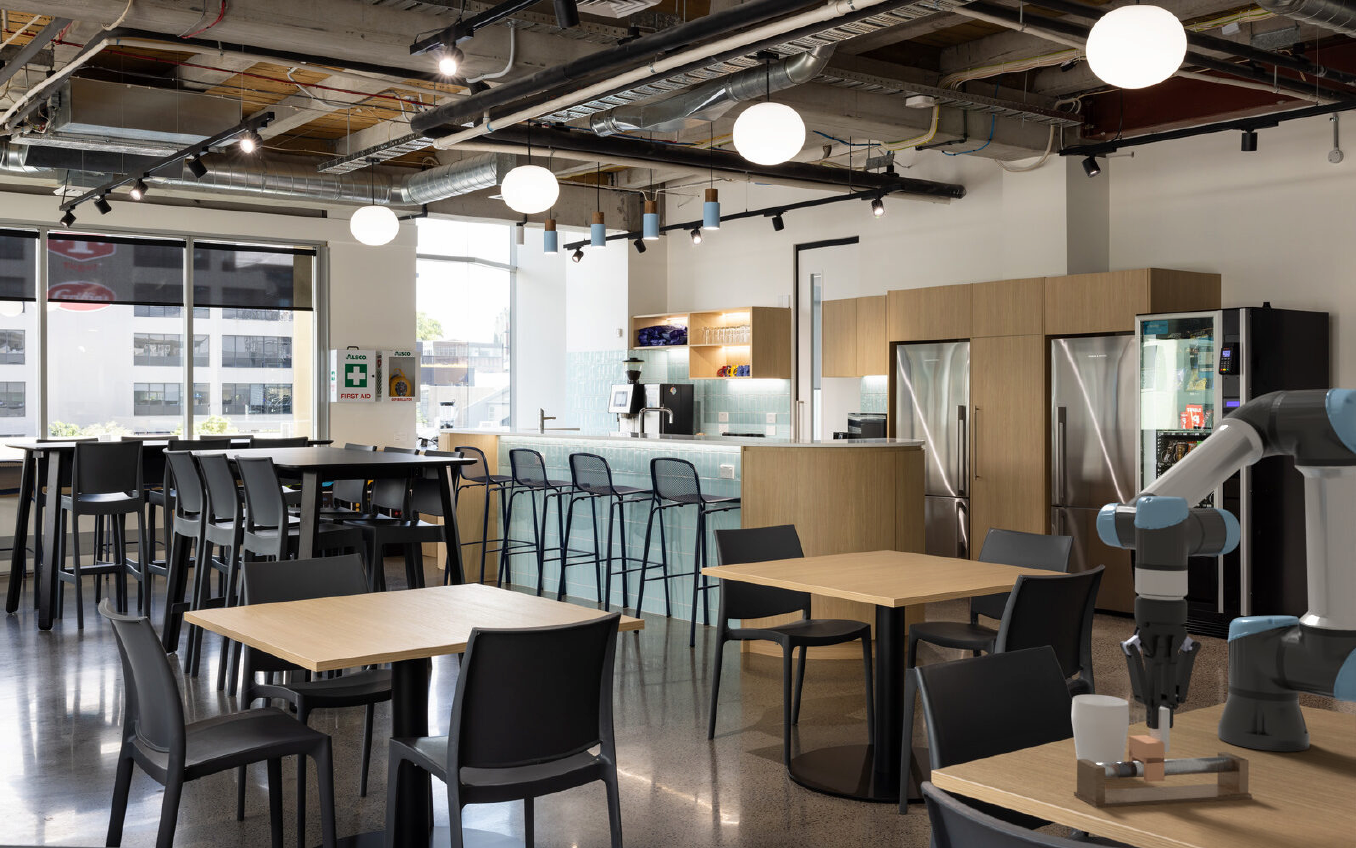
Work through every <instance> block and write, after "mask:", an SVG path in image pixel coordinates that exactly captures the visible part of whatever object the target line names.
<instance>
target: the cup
mask: <svg viewBox="0 0 1356 848" xmlns="http://www.w3.org/2000/svg"><path fill="white" fill-rule="evenodd" d="M1071 703H1072V704H1071V724H1072V732H1073V739H1074V746H1075V747H1074V748H1075V754H1076V755H1075V756H1076V760H1077V759H1088V760H1090V761H1092V762H1094V763H1107V762H1124V759H1125V758H1124V757H1125V752H1126V747H1127V739H1128V733H1129V727H1130V714H1129V713H1130V711H1129V701H1127V700H1126V699H1123V698H1121V697H1116V696H1111V695H1110V696H1109V695H1104V694H1078V695H1075V696H1073V697H1072V702H1071Z"/></svg>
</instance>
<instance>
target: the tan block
mask: <svg viewBox="0 0 1356 848" xmlns="http://www.w3.org/2000/svg"><path fill="white" fill-rule="evenodd" d="M1164 748H1165V743H1164V742H1162V741H1159V740H1157V739H1154V738H1152V737H1150V735H1146V734H1145V735H1144V734H1143V735H1142V734H1141V735H1140V734H1139V735H1128V761H1143V762H1144V777H1143V781H1144V782H1146V783H1153V782H1165V776H1164V760H1165V752H1164Z"/></svg>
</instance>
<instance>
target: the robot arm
mask: <svg viewBox="0 0 1356 848" xmlns="http://www.w3.org/2000/svg"><path fill="white" fill-rule="evenodd" d="M1281 455H1282V456H1293V457H1294V468H1295V469H1297V470H1298V472H1300V473H1302V475H1303V477H1304V501H1305V502H1304V503H1305V504H1304V506H1305V508H1304V509H1305V535H1306V536H1305V539H1306V570H1307V573H1306V574H1307V604H1308V605H1307V607H1308V608H1307V610H1308V611H1307V612H1306V613H1305V614H1303V615H1302V616H1301V617H1300V618H1299V617H1298V616H1292V615H1260V616H1259V615H1257V616H1255V615H1254V616H1243V617H1237V618H1234V619H1232V621H1231V622H1230V623H1229V630H1228V631H1229V632H1228V639H1227V643H1228V645H1227V646H1228V650H1227V651H1228V652H1227V653H1228V691H1227V692H1228V696H1227V699H1226V702H1225V704H1224V708H1223V710H1222V714H1221V717H1220V720H1219V721H1218V723H1217V737H1218V738H1219V739H1220V740H1222V741H1223V742H1226V743H1228V744H1232V745H1235V746H1239V747H1244V748H1249V749H1255V750H1262V751H1271V752H1299V751H1301V752H1302V751H1305V750H1308V749H1309V748H1310V732H1309V730H1308V729H1307V725H1306V721H1305V717H1304V714H1303V711H1302V708H1301V706H1300V701H1299V700H1300V699H1299V697H1300V695H1299V694H1300V693H1302V694H1303V693H1304V694H1309V695H1313V696H1318V697H1324V698H1329V699H1333V700H1336V701H1339V702H1351V703H1356V389H1355V388H1351V389H1350V388H1340V387H1335V388H1328V389H1305V390H1304V389H1303V390H1302V389H1301V390H1298V389H1296V390H1277V391H1273V392H1269V393H1266V394H1263V395H1259V396H1257V397H1255V398H1253V399H1251V400H1249V401H1247V402H1246V403H1244V404H1242V405H1240V406H1238V407H1237V408H1235V409H1233V410H1232V411H1230V412H1229V413H1228V414H1226V415H1225V416H1223V418H1221V419H1220V420H1219V421H1218V422H1216V423H1215V424H1214V426H1213V428H1212V430H1211V435H1209V436H1208V437H1207V438H1206V439H1204V440H1203V441H1202V442H1201V443H1200V444H1198V445H1197V446H1195V448H1193V449H1192V450H1191V451H1190V452H1188V453H1187V454H1186V455H1185V456H1184V457H1182V458H1181V459H1180V460H1178V461H1177V462H1176V463H1175V464H1173V465H1172V466H1171V467H1169V469H1167V470H1166V471H1164V472H1163V474H1161V475H1160V476H1159V477H1157V478H1156V479H1155V480H1154V481H1152V483H1150V484H1148V486H1147V487H1146V488H1144V489H1143V490H1141V492H1139V493H1138V494H1137V495H1136V496H1134V497H1133V498H1132V499H1130V500H1129V501H1128V502H1125V503H1123V502H1121V501H1120V502H1117V503H1116V502H1115V503H1114V502H1113V503H1108V504H1104V506H1103V507H1101V509H1100V511H1099V512H1098V515H1097V518H1096V530H1097V533H1098V536H1099V538H1100V541H1102V542H1103V543H1104V544H1106V545H1107V546H1109V547H1117V548H1121V549H1124V550H1129V549H1130V550H1135V563H1134V564H1135V565H1134V569H1135V570H1134V591H1135V593H1137V594H1138V595H1137V596H1135V598H1134V619H1135V621H1136V622H1135V623H1136V625H1135V628H1134V631H1133V636H1132V637H1131V638H1129V639H1128V640H1121V641H1120V643H1119V647H1120V649H1121V651H1122V652H1123V654H1124V656H1125V660H1126V661H1125V662H1126V664H1127V670H1128V674H1129V680H1130V685H1131V690H1132V694H1133V698H1134V701H1135V702H1138V703H1139V704H1142V705H1144V706H1145V709H1146V713H1145V717H1146V718H1145V723H1146V724H1145V725H1146V727H1147V728H1148V729H1149V737H1152V738H1154V739H1157V740H1159V741H1162V742H1164V743H1165V748H1164V753H1169V752H1170V729H1173V727H1174V710H1177V709H1178V708H1179V704H1181V705H1182V704H1185V703H1186V702H1187V697H1188V692H1189V688H1190V682H1191V679H1192V678H1191V677H1192V674H1193V670H1194V669H1193V668H1194V664H1195V659H1196V658H1197V657H1196V656H1197V654H1198V653H1199V652H1200V649H1201V647H1202V644H1201V642H1200V641H1197V640H1193V639H1192V638H1190V636H1188V631H1187V628H1186V626H1185V624H1186V623H1187V621H1188V601H1187V600H1186V598H1184V597H1186V596H1187V595H1188V594H1189V592H1188V591H1189V589H1188V586H1189V585H1188V583H1189V582H1188V579H1189V578H1188V576H1189V575H1188V571H1189V570H1188V558H1189V557H1201V556H1202V557H1206V556H1211V557H1217V556H1220V555H1226V554H1228V553H1231V552H1232V551H1233V550H1234V549H1236V548H1237V546H1238V545H1239V542H1240V541H1241V540H1240V539H1241V534H1242V533H1241V526H1240V523H1239V521H1238V519H1237V518H1236V516H1235V515H1234V514H1233V513H1232V512H1230V511H1229V510H1225V509H1223V508H1216V507H1206V508H1205V507H1203V508H1201V507H1200V508H1196V506H1197V505H1198V504H1200V503H1201V502H1202V501H1203V500H1204V499H1206V498H1207V497H1208V496H1209V495H1210V494H1212V492H1213V491H1215V490H1216V489H1217V488H1218V487H1220V486H1221V485H1222V484H1223V483H1224V482H1225V481H1227V480H1228V479H1229V478H1230V477H1231V476H1233V475H1234V474H1235V473H1237V471H1239V470H1240V469H1241V468H1242V467H1248V466H1252V465H1254V464H1256V463H1257V462H1259V461H1260V460H1261V459H1263V458H1267V457H1271V456H1281ZM1141 651H1142V655H1141Z"/></svg>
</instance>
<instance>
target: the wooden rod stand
mask: <svg viewBox="0 0 1356 848" xmlns="http://www.w3.org/2000/svg"><path fill="white" fill-rule="evenodd" d="M1249 764H1250V763H1249V759H1246V758H1243V757H1241V756H1238V755H1236V754H1233V753H1231V752H1228V751H1219V752H1217V756H1208V757H1206V756H1204V757H1191V758H1189V757H1188V758H1172V759H1171V758H1169V759H1167V758H1166V759H1165V758H1164V777H1168V776H1186V775H1202V774H1203V775H1204V774H1205V775H1207V774H1217V783H1203V784H1191V785H1190V784H1189V785H1188V784H1187V785H1173V786H1172V785H1171V786H1170V785H1169V786H1153V787H1152V786H1151V787H1139V788H1138V787H1136V788H1135V787H1134V788H1121V789H1117V788H1115V789H1106V780H1113V779H1115V780H1116V779H1130V778H1131V779H1132V778H1144V762H1143V761H1129V760H1128V761H1126V760H1125V761H1123V762H1107V763H1094V762H1092V761H1090V760H1088V759H1077V758H1076V765H1077V767H1076V791H1073V796H1074V797H1075V796H1076V797H1075V798H1077V797H1078V799H1079V798H1080V800H1081V801H1083V802H1085V801H1086V802H1088V803H1089V804H1088V803H1087V804H1088V805H1091V806H1092V807H1094V806H1095V807H1094V808H1096V807H1101V808H1113V807H1116V806H1118V807H1131V806H1132V807H1133V806H1145V805H1147V806H1148V805H1149V806H1150V805H1163V804H1164V805H1165V804H1167V805H1168V804H1178V803H1179V804H1180V803H1181V804H1182V803H1197V802H1199V803H1200V802H1214V801H1216V802H1217V801H1229V800H1231V801H1232V800H1246V799H1248V800H1249V799H1250V800H1251V799H1252V797H1253V796H1252V794H1251V793H1249V777H1250V774H1249V769H1250V768H1249V766H1250V765H1249ZM1086 802H1085V803H1086Z"/></svg>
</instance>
